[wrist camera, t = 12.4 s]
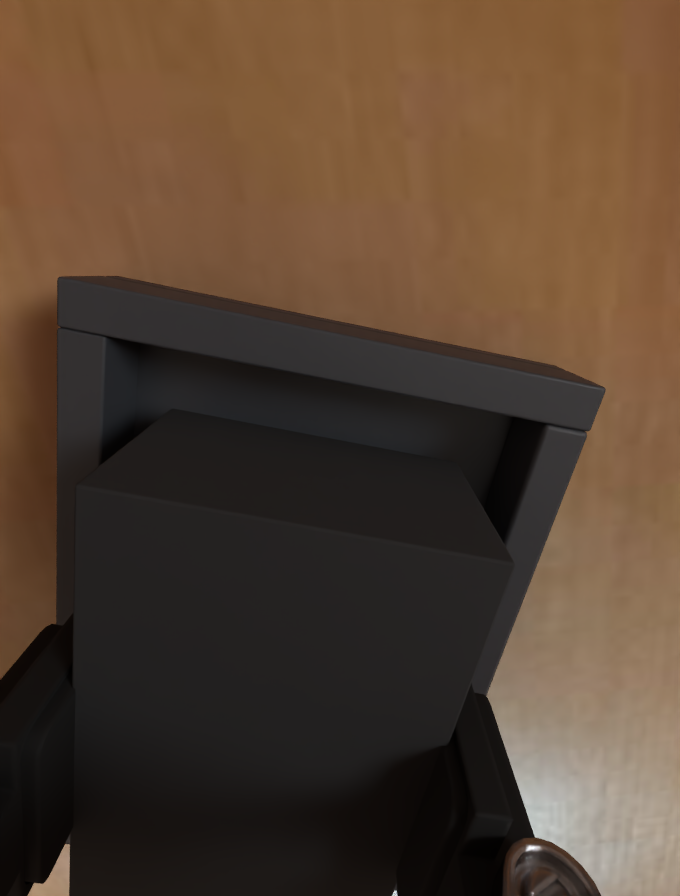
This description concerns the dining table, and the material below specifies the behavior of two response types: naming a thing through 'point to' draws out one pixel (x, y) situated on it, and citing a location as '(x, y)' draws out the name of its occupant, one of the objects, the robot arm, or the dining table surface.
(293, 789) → the black rectangular block
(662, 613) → the dining table surface
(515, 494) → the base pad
